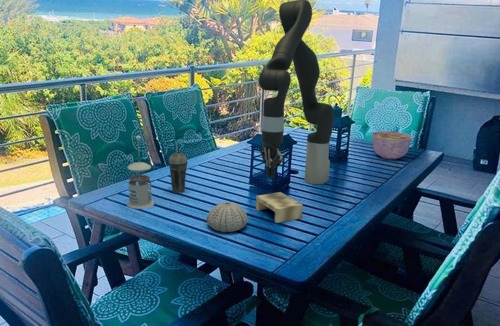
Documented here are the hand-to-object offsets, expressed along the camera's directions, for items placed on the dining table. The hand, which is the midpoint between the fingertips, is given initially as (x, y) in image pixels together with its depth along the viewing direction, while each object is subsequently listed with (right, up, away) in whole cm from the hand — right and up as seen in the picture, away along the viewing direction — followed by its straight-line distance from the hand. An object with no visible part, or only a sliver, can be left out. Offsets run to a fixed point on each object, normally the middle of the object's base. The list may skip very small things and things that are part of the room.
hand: (270, 177), depth 167 cm
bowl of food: (+64, +8, +76) cm, 100 cm away
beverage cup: (-35, -6, +17) cm, 40 cm away
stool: (-1, -9, +3) cm, 9 cm away
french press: (-47, -10, +4) cm, 48 cm away
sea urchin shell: (-15, -16, -13) cm, 25 cm away
